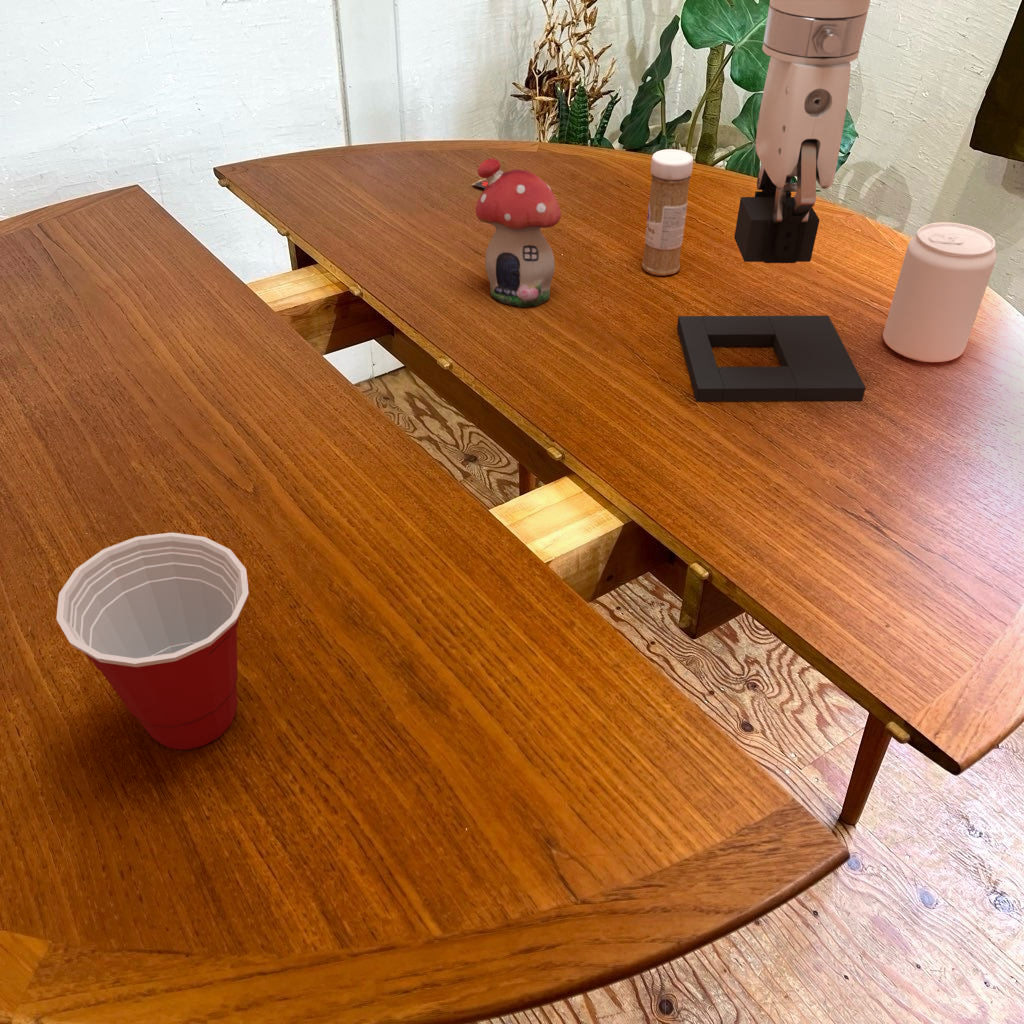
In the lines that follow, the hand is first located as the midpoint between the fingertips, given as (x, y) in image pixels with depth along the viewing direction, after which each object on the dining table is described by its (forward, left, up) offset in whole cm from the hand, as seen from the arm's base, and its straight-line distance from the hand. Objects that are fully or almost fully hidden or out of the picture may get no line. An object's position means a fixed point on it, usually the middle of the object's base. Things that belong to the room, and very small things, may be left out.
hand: (772, 245), depth 88 cm
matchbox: (+26, -47, -13) cm, 56 cm away
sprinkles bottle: (+6, -22, -14) cm, 27 cm away
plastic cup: (+45, +43, -14) cm, 63 cm away
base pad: (-2, -1, -13) cm, 14 cm away
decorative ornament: (+23, -16, -14) cm, 32 cm away
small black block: (0, 0, 0) cm, 0 cm away
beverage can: (-19, -4, -14) cm, 24 cm away
